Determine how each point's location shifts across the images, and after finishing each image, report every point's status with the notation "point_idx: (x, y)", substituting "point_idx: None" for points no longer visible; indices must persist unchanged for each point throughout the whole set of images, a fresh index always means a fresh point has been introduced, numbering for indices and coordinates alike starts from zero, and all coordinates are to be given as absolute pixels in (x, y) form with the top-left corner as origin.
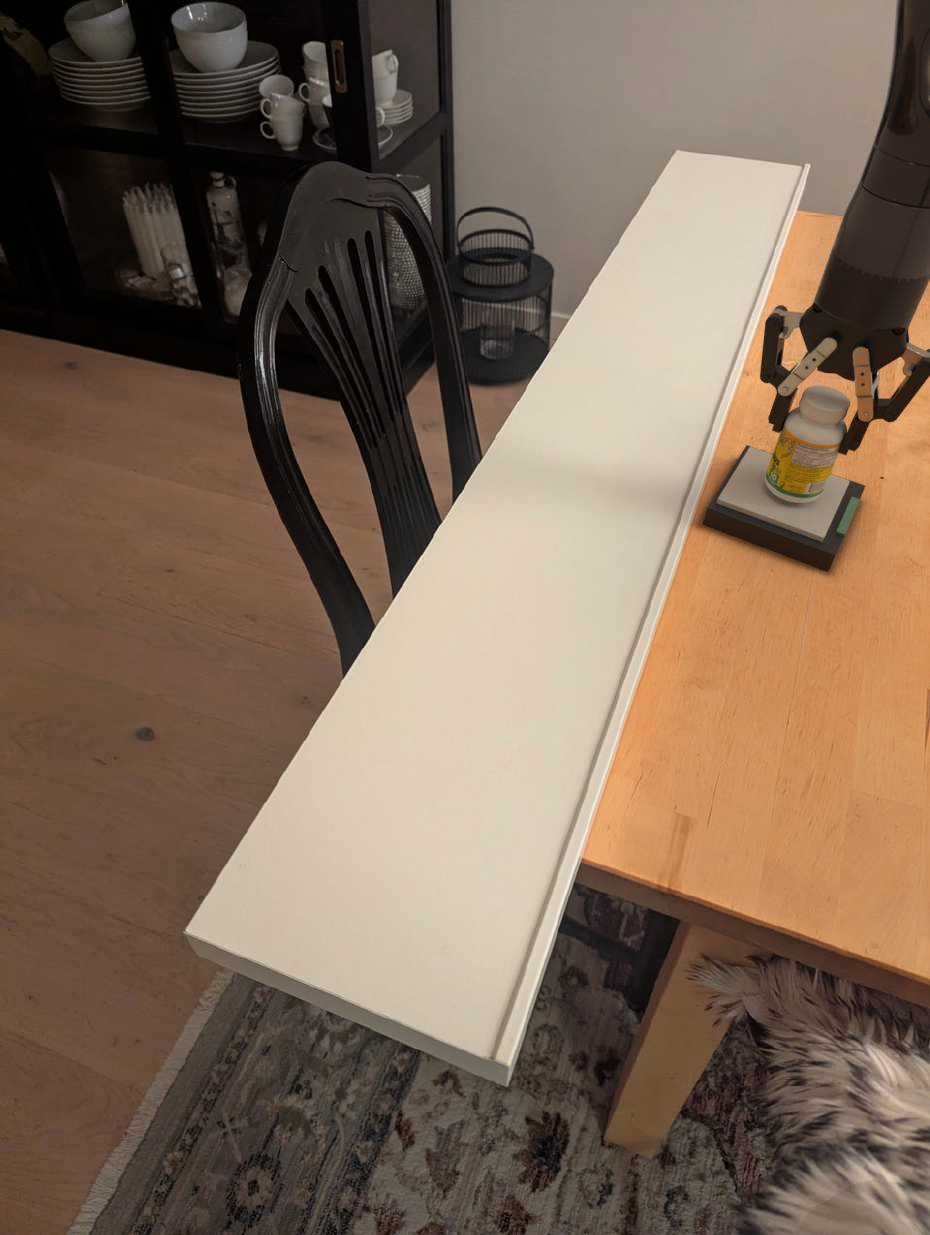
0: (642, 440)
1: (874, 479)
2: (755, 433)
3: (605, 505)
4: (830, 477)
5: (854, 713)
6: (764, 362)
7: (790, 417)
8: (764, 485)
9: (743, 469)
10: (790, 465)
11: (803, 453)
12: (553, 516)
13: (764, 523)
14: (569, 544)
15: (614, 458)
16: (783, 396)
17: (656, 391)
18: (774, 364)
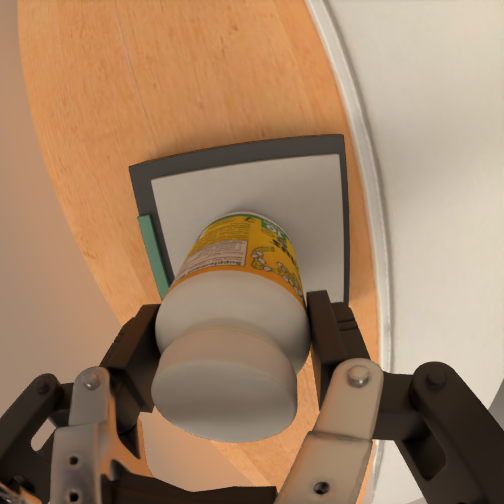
0: (457, 261)
1: None
2: None
3: (450, 100)
4: None
5: (59, 6)
6: (474, 410)
7: (297, 326)
8: None
9: (333, 259)
10: (244, 236)
11: (220, 254)
12: (474, 52)
13: (246, 156)
14: (436, 12)
15: (474, 203)
16: (348, 363)
17: (452, 347)
18: (446, 425)
